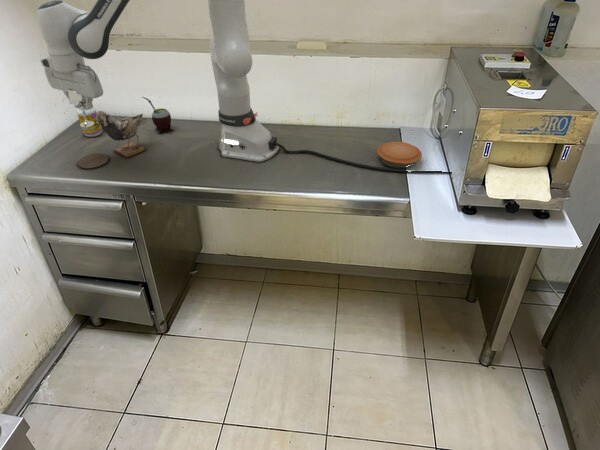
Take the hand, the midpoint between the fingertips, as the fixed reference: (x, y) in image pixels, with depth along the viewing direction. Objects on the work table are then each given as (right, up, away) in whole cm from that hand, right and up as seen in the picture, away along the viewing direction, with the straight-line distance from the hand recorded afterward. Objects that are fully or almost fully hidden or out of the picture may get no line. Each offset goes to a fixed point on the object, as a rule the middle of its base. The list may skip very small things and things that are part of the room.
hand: (81, 106), depth 139 cm
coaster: (-3, -16, +14) cm, 21 cm away
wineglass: (0, -5, +4) cm, 6 cm away
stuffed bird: (+7, -11, +21) cm, 24 cm away
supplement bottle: (-11, -2, +32) cm, 34 cm away
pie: (+104, -15, +15) cm, 106 cm away
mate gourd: (+15, 0, +35) cm, 38 cm away
